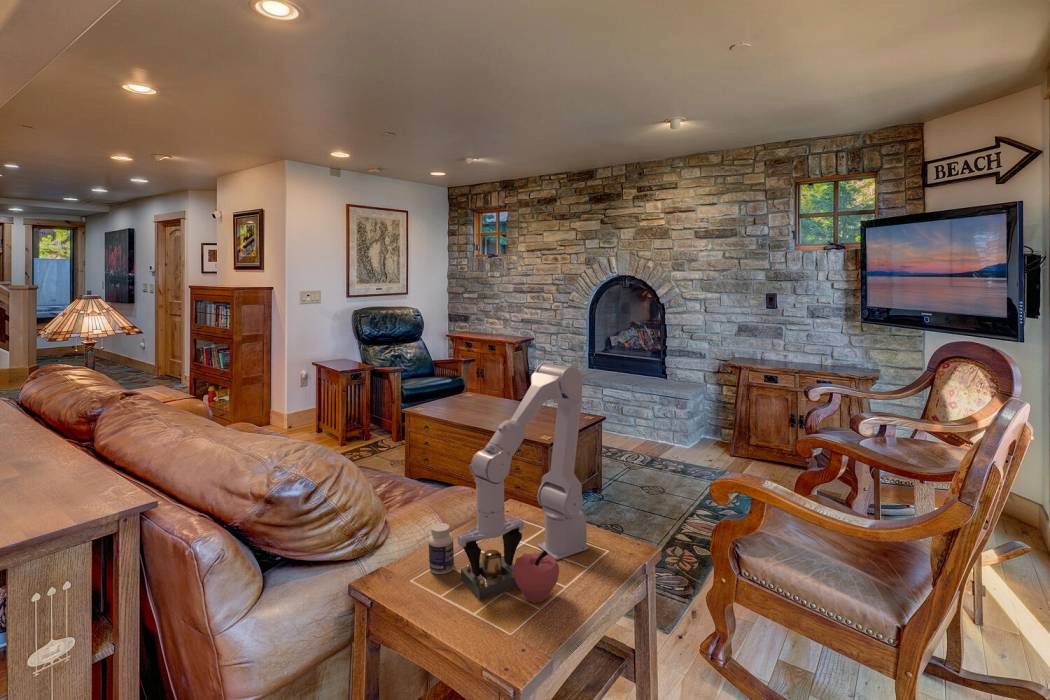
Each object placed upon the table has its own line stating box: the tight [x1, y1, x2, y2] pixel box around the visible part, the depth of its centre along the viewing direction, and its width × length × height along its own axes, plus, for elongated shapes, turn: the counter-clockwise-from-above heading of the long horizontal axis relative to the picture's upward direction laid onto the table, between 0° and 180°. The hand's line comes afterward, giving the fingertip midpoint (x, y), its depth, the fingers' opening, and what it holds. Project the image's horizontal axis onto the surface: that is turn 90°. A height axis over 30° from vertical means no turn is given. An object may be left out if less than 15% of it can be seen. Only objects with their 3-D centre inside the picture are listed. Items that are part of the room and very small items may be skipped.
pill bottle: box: [428, 522, 455, 575], centre depth 122 cm, size 5×5×10 cm
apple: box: [513, 550, 560, 604], centre depth 110 cm, size 10×9×10 cm
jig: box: [460, 555, 519, 601], centre depth 116 cm, size 11×9×4 cm
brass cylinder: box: [481, 549, 502, 581], centre depth 117 cm, size 4×4×6 cm
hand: (492, 569), depth 116 cm, fingers open, 7 cm apart
